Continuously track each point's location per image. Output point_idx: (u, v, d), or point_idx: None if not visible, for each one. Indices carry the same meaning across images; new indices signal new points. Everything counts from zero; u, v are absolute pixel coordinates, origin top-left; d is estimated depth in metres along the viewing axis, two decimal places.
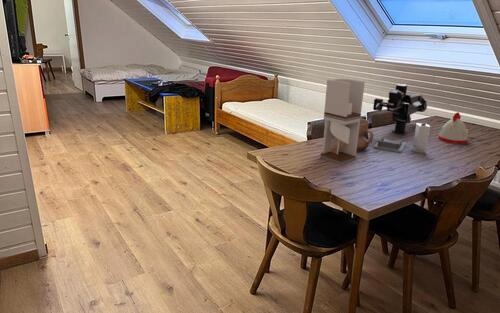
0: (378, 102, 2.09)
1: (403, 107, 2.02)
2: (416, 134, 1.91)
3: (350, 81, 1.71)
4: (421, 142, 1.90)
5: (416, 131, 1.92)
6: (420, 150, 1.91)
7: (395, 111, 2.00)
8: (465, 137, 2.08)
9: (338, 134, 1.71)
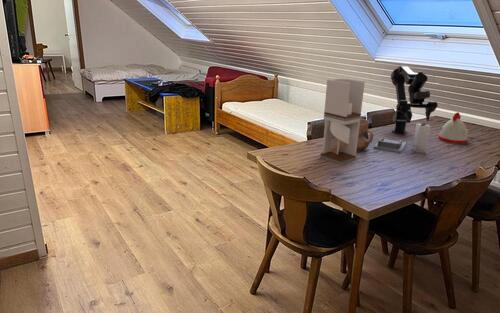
0: (406, 108, 1.98)
1: (432, 108, 1.98)
2: (416, 134, 1.91)
3: (350, 81, 1.71)
4: (421, 142, 1.90)
5: (416, 131, 1.92)
6: (420, 150, 1.91)
7: None
8: (465, 137, 2.08)
9: (338, 134, 1.71)
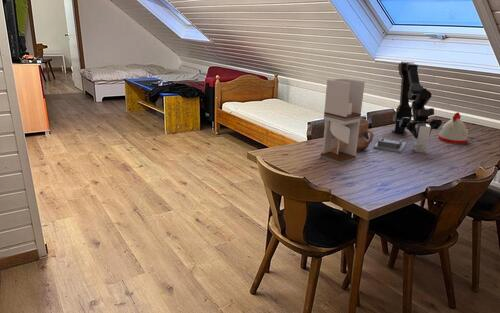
0: (413, 126, 1.91)
1: (433, 126, 1.92)
2: None
3: (350, 81, 1.71)
4: (421, 142, 1.90)
5: (416, 131, 1.92)
6: (420, 150, 1.91)
7: None
8: (465, 137, 2.08)
9: (338, 134, 1.71)
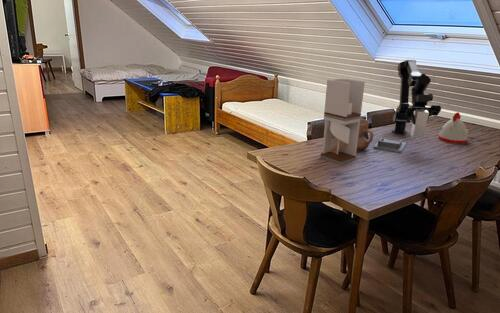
0: (411, 111, 1.89)
1: (431, 112, 1.89)
2: None
3: (350, 81, 1.71)
4: (419, 128, 1.88)
5: None
6: (417, 136, 1.89)
7: None
8: (465, 137, 2.08)
9: (338, 134, 1.71)
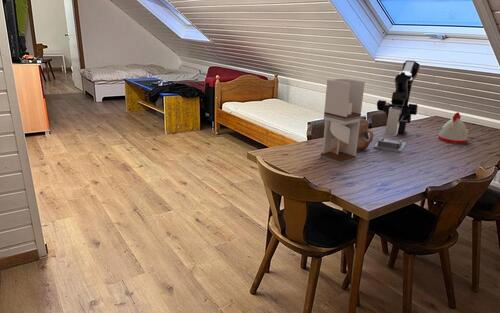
0: (386, 108, 1.95)
1: (407, 110, 1.92)
2: None
3: (350, 81, 1.71)
4: (390, 125, 1.93)
5: None
6: (390, 133, 1.94)
7: (401, 120, 1.92)
8: (465, 137, 2.08)
9: (338, 134, 1.71)
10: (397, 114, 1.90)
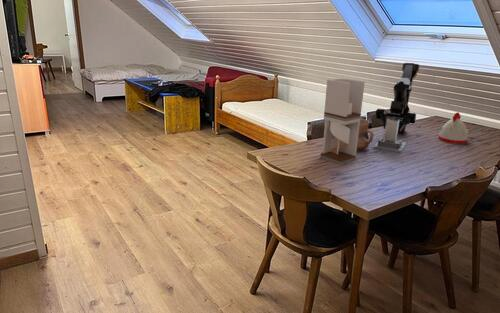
0: (383, 117, 1.97)
1: (408, 119, 1.93)
2: None
3: (350, 81, 1.71)
4: (389, 136, 1.94)
5: None
6: None
7: (401, 128, 1.93)
8: (465, 137, 2.08)
9: (338, 134, 1.71)
10: (395, 125, 1.92)
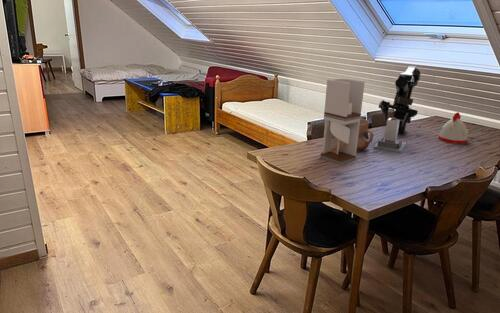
0: (386, 109, 2.04)
1: (411, 115, 2.04)
2: None
3: (350, 81, 1.71)
4: (389, 136, 1.94)
5: None
6: None
7: None
8: (465, 137, 2.08)
9: (338, 134, 1.71)
10: (395, 125, 1.92)
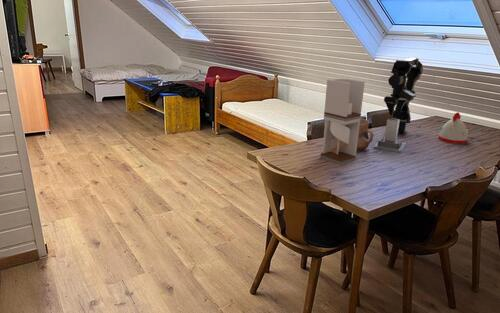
0: (394, 105, 2.04)
1: None
2: None
3: (350, 81, 1.71)
4: (389, 136, 1.94)
5: None
6: None
7: None
8: (465, 137, 2.08)
9: (338, 134, 1.71)
10: (395, 125, 1.92)
